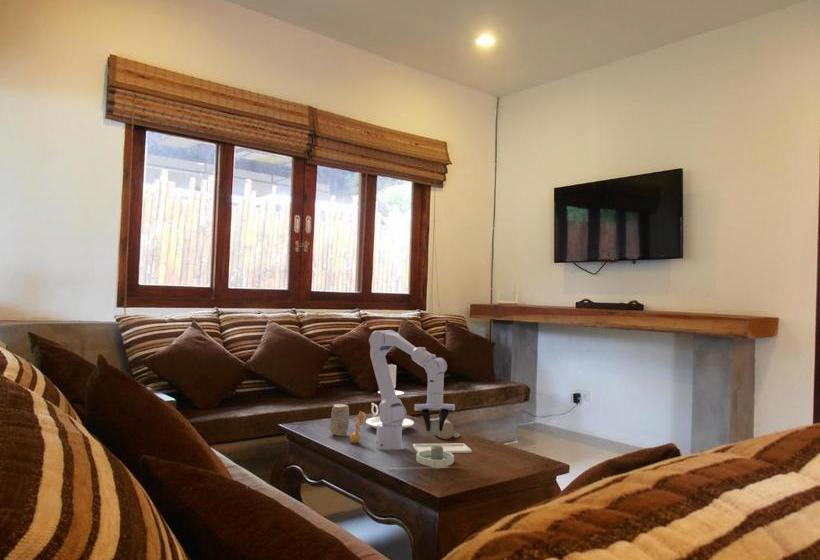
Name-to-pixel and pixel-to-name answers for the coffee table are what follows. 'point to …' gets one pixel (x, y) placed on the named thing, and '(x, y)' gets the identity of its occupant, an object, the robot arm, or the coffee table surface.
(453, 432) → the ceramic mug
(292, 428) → the coffee table surface
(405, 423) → the candlestick
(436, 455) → the pebble
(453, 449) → the parts tray
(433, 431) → the pebble
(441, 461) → the celadon bowl
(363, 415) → the figurine
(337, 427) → the carving
